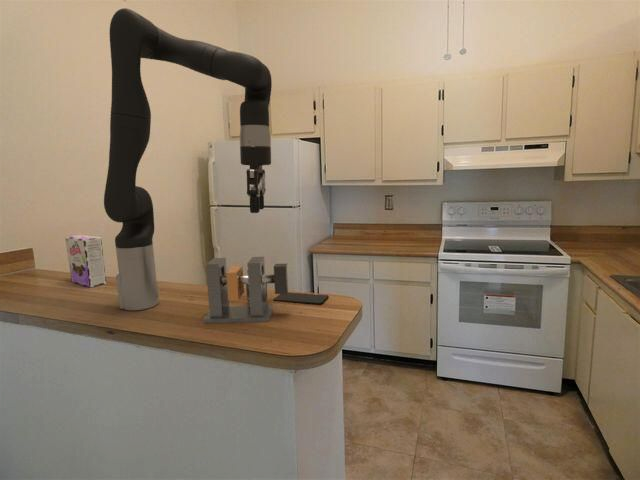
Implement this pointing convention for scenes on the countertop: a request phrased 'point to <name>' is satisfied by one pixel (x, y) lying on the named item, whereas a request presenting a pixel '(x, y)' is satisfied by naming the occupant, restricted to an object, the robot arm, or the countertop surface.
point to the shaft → (269, 279)
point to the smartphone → (302, 298)
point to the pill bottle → (248, 291)
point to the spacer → (234, 283)
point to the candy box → (86, 260)
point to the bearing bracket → (219, 294)
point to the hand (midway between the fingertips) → (257, 211)
